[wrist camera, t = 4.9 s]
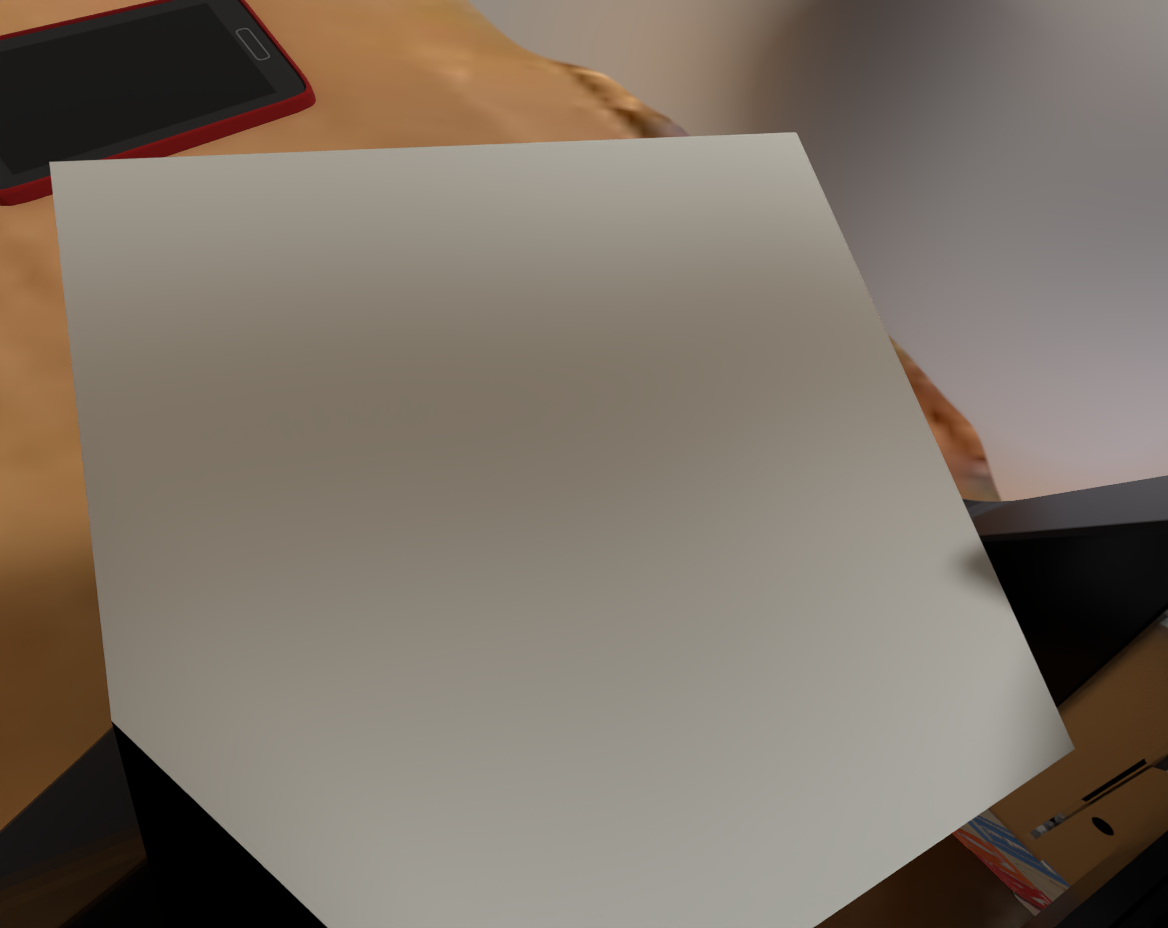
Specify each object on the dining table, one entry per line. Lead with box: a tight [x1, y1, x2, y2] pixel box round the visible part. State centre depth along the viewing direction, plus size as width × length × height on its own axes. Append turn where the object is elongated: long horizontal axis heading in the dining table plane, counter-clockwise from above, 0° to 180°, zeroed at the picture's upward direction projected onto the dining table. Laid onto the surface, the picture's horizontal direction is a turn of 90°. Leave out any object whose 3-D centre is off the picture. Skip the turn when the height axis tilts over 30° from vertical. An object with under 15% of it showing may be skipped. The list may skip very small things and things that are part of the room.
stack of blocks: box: [952, 809, 1070, 916], centre depth 16 cm, size 21×6×12 cm, turn 47°
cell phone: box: [0, 0, 316, 206], centre depth 20 cm, size 8×15×1 cm, turn 129°
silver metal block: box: [49, 132, 1075, 928], centre depth 9 cm, size 6×6×13 cm
